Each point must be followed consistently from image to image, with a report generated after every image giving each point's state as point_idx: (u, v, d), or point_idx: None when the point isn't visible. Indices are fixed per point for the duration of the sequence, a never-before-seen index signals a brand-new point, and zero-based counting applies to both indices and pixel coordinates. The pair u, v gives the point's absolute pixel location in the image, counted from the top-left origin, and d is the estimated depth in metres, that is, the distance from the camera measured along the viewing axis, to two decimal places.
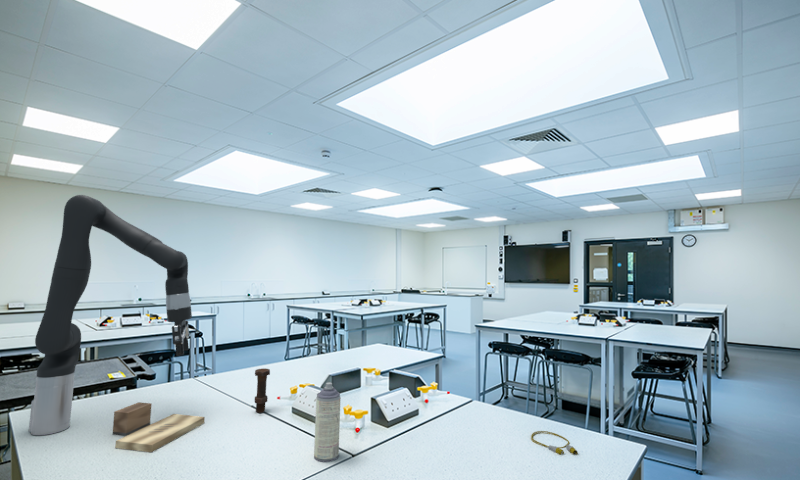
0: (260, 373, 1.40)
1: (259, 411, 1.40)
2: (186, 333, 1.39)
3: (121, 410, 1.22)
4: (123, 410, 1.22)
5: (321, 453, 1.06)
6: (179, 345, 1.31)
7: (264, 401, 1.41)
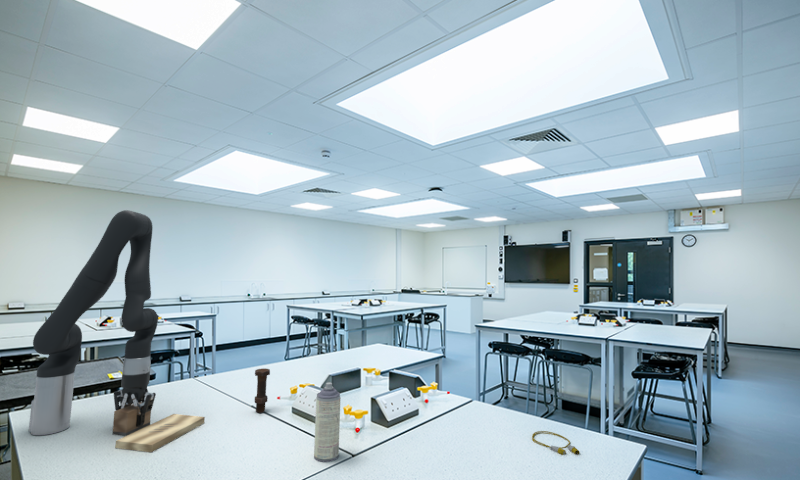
0: (260, 373, 1.40)
1: (259, 411, 1.40)
2: None
3: (121, 410, 1.22)
4: (123, 410, 1.22)
5: (321, 453, 1.06)
6: (144, 414, 1.24)
7: (264, 401, 1.41)
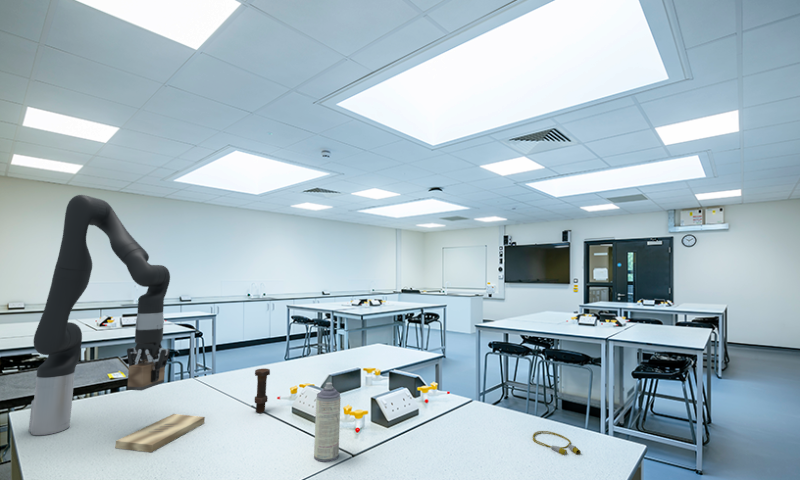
0: (260, 373, 1.40)
1: (259, 411, 1.40)
2: (146, 358, 1.25)
3: (135, 365, 1.20)
4: (137, 365, 1.20)
5: (321, 453, 1.06)
6: (158, 370, 1.22)
7: (264, 401, 1.41)
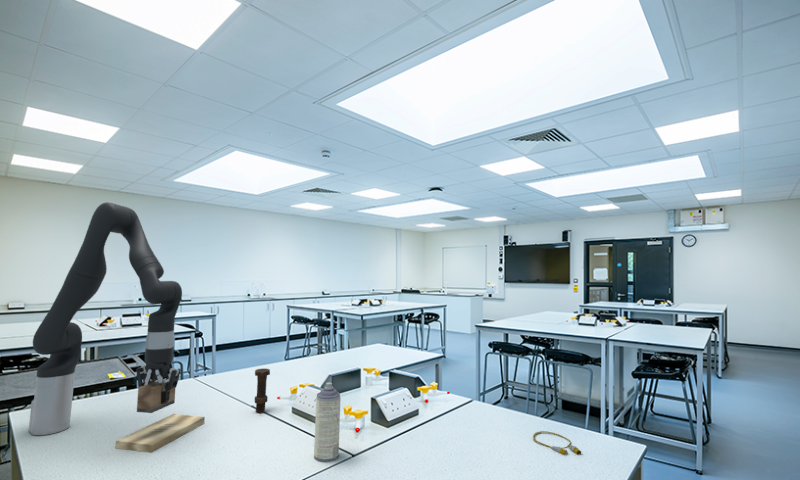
0: (260, 373, 1.40)
1: (259, 411, 1.40)
2: None
3: (145, 386, 1.15)
4: (147, 386, 1.15)
5: (321, 453, 1.06)
6: (168, 391, 1.18)
7: (264, 401, 1.41)
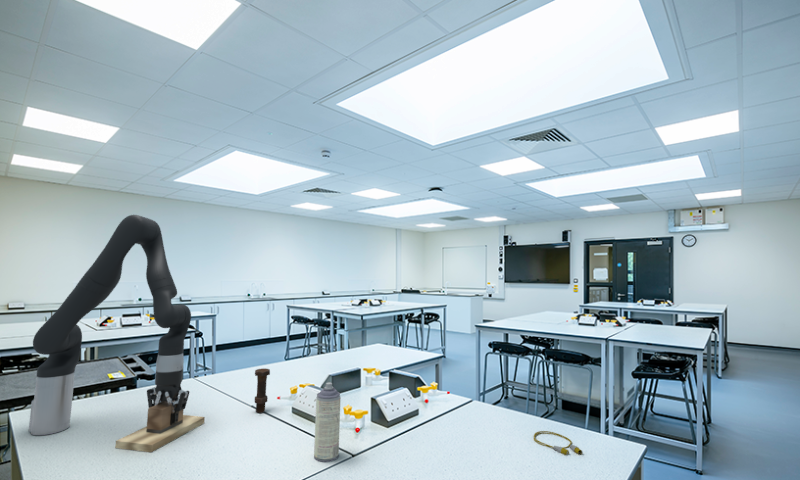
0: (260, 373, 1.40)
1: (259, 411, 1.40)
2: None
3: (155, 407, 1.19)
4: (157, 407, 1.19)
5: (321, 453, 1.06)
6: (177, 412, 1.21)
7: (264, 401, 1.41)
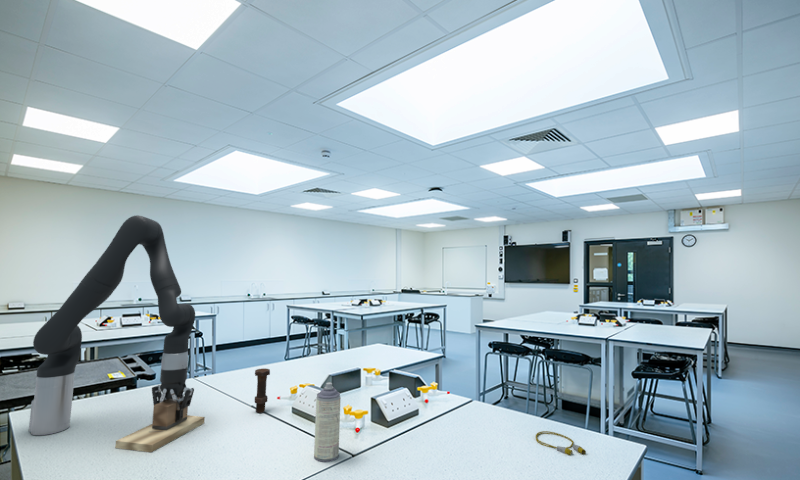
0: (260, 373, 1.40)
1: (259, 411, 1.40)
2: None
3: (160, 404, 1.21)
4: (162, 404, 1.21)
5: (321, 453, 1.06)
6: (182, 409, 1.24)
7: (264, 401, 1.41)
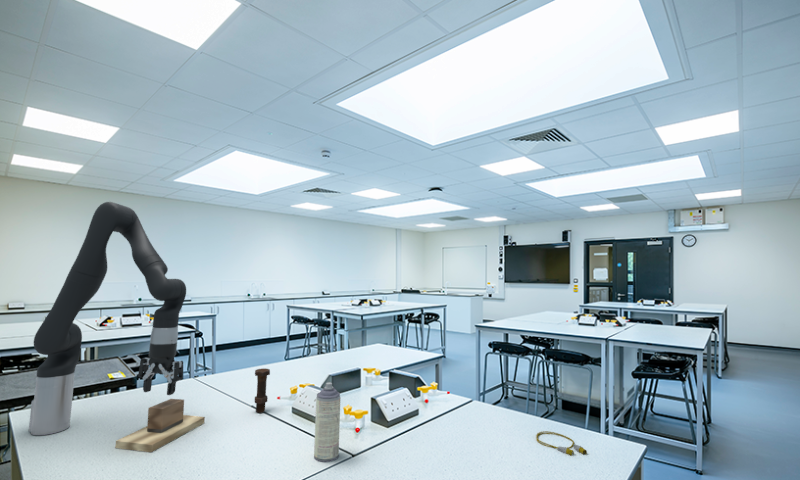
0: (260, 373, 1.40)
1: (259, 411, 1.40)
2: None
3: (155, 406, 1.19)
4: (157, 406, 1.19)
5: (321, 453, 1.06)
6: (175, 383, 1.22)
7: (264, 401, 1.41)
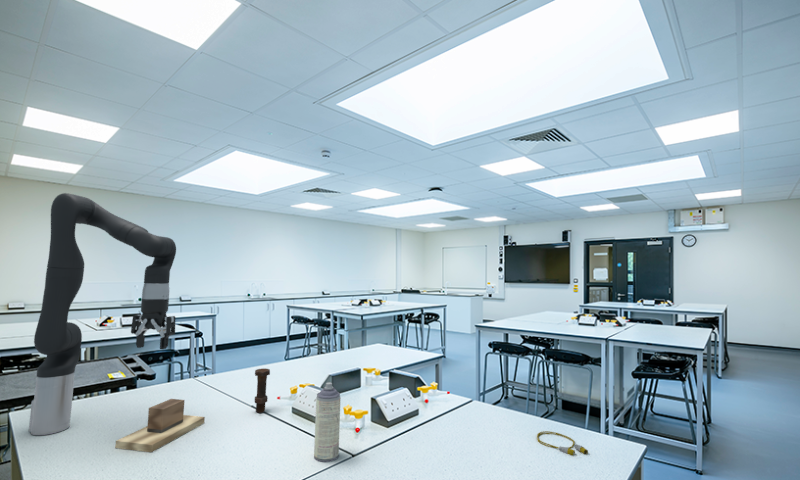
0: (260, 373, 1.40)
1: (259, 411, 1.40)
2: None
3: (155, 406, 1.19)
4: (157, 406, 1.19)
5: (321, 453, 1.06)
6: (167, 337, 1.24)
7: (264, 401, 1.41)
